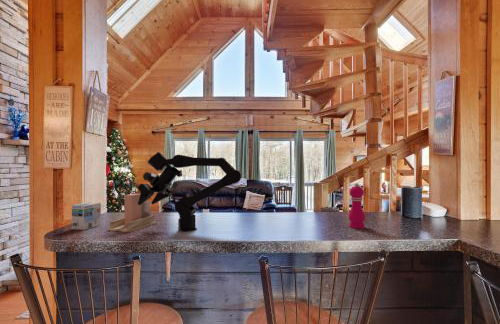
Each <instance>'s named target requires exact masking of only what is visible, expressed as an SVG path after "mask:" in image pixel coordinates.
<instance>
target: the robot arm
mask: <svg viewBox="0 0 500 324" xmlns="http://www.w3.org/2000/svg"><path fill="white" fill-rule="evenodd" d="M147 163H148V165H149V166H151V167H152V168H153V169H155V170H156V171H157V172H161V173H160V174H154V173H152V172H149V171H145V172H144V173H143V175H142V178H143V180H144V181H146V182H149V184H148V183H140V184H138V186H137V189H138V191H139V194H140V198H139V201H138V205H141V204H143V203H144V202H145V201H149V200H150V199H151V198H152V196H154V194H155V196H154V198H153V199H152V201H151V205H155V204H157V203H159V202H160V201H161V202H162V201H163V200H165V199H167V198H169V197H172V195H173V194H174V190H173V189H172V188H171V186H172V185H173V184H172V182H173V181H174V179H175V178H176V177H178V178H181V177H182V176H183V171H182V169H181V168H188V167H189V168H190V167H199V166H200V167H219V168H220V169H221V170H222V171H223V172H224V174H225V175H224V176H223V177H221V179H219V180H218V181H216V182H214V183H212V184H211V185H209V186H207V187H205V188H203V189H202V190H199V191H198V192H197V193H194V194H191V195H190V193H186V194H184V195H183V196H181V197H179V198H177V201H176V202H175V203H174V209H175V211H176V212H177V213H178V216H179V218H178V220H177V221H178V223H177V225H178V226H177V228H178V230H180V231H182V232H187V231H188V232H191V231H195V230H198V228H197V227H196V214H195V213H196V211H197V209H196V208H195V205H196V204H197V203H199V202H200V201H202V200H204V199H206V198H207V197H210V196H211V195H213V194H214V193H216V192H218V191H220V190H222V189H223V188H226V187H229V186H231V185H235V184H237V183H239V182H240V181H241V180H242V177H243V175H242V174H243V173H242V172H241V170H238V169H236V168H234V166H232V165H231V164H230V163H229V162H228V161H227V159H226V158H224V157H193V156H189V155H183V154H176V155H173V156H172V158H167V157H165V156H164V155H163V154H162V153H161V152H159V151H158V152H156V153H155V154H153V155H152V156H151V157H150V158H149V159H148V161H147ZM177 168H178V169H177ZM179 169H181V170H179Z"/></svg>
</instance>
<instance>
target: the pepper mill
mask: <svg viewBox="0 0 500 324" xmlns="http://www.w3.org/2000/svg"><path fill="white" fill-rule="evenodd" d="M364 191H365V190H364V189H363V187H361V186H360V185H359V183H358V182H356V183H354V186H352V187H351V188H350V189H349V195H350V201H351V208H350V210H349V213H348V216H347V217H348V220H349V221H350V222H349V227H350V228H351V229H359V230H361V229H364V228H365V223H364V222H365V220H366V214H365V212H364V210H363V207H362V202H363V196H364V194H365V192H364Z"/></svg>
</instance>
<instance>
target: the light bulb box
mask: <svg viewBox="0 0 500 324" xmlns="http://www.w3.org/2000/svg"><path fill="white" fill-rule="evenodd" d="M101 206H102V205H101V202H96V201H95V202H92V201H89V202H83V203H78V204H72V205H71V230H82V231H85V230H87V229H91V228H94V227H95V226H96V227H99V226H101V224H102V223H101V222H102V221H101V219H102V217H101V216H102V212H101V211H102V210H101V209H102V207H101Z"/></svg>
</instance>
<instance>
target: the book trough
mask: <svg viewBox="0 0 500 324" xmlns="http://www.w3.org/2000/svg"><path fill="white" fill-rule="evenodd" d="M155 224H157V221H155V215H153V214H152V201H151V200H147V201H145V202H144V203H143V204H141V219H139V220H135V221H132V222H129V223H127V226H125V217H122V218H119V219H115V220H111V221H109V227H108V228H107V231H109V230H110V231H111V232H126V233H134V232H135V231H138V230H141V229H144V228H148V227H150V226H153V225H155ZM110 231H109V232H110Z"/></svg>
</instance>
